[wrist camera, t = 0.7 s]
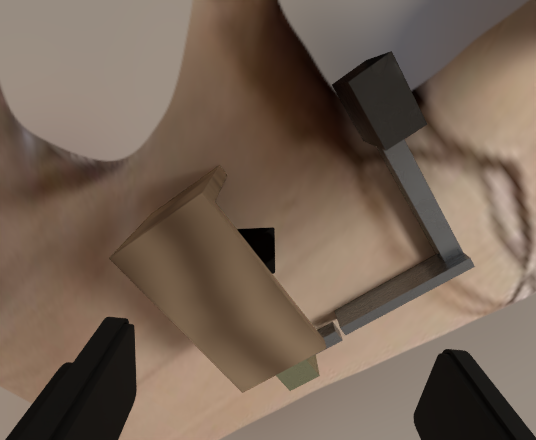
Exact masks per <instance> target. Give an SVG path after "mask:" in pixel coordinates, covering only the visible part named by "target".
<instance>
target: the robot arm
mask: <svg viewBox="0 0 536 440" xmlns="http://www.w3.org/2000/svg"><path fill="white" fill-rule="evenodd" d="M135 397H136V361H135V332H134V325H133V324H129V321H128V319H126V318H115V317H106V318H105V319H104V320H103V322H102V323H101V325H100V326H99V327H98V329H97V330H96V332H95V333H94V334H93V336H92V337H91V338H90V340H89V341H88V343H87V344H86V345H85V347H84V348H83V350H82V351H81V352H80V354H79V355H78V357H77V358H76V359H75V361H74V362H73V363H71V362H68V363H65V364H63V365H62V366H61V367H60V368H59V369H58V371H57V372H56V373H55V375H54V376H53V377H52V379H51V380H50V381H49V383H48V384H47V385H46V386H45V388H44V389H43V390H42V392H41V393H40V394H39V396H38V397H37V398H36V400H35V401H34V402H33V404H32V405H31V406H30V408H29V409H28V410H27V412H26V413H25V414H24V416H23V417H22V418H21V420H20V421H19V422H18V424H17V425H16V426H15V428H14V429H13V430H12V432H11V433H10V434H9V436H8V437H7V438H6V440H118V439H119V436H120V434H121V432H122V429H123V427H124V425H125V422H126V420H127V418H128V415H129V413H130V411H131V408H132V406H133V403H134V401H135ZM414 424H415V426H416V429H417V431H418V434H419V436H420V438H421V440H536V437H535V436H534V435H533V433H532V432H531V431H530V430H529V428H528V427H527V426H526V425H525V423H524V422H523V421H522V419H521V418H520V417H519V416H518V414H517V413H516V412H515V411H514V409H513V408H512V407H511V406H510V404H509V403H508V402H507V401H506V399H505V398H504V397H503V396H502V394H501V393H500V392H499V390H498V389H497V388H496V387H495V385H494V384H493V383H492V382H491V380H490V379H489V378H488V377H487V375H486V374H485V373H484V371H483V370H482V369H481V368H480V366H479V365H478V364H477V363H476V361H475V360H474V359H473V357H472V356H471V355H470V354H469V353H468V352H466V351H463V350H452V349H446V350H444V351H443V352H442V353H441V354H439V355H438V356H437V359H436V361H435V364H434V366H433V368H432V371H431V373H430V376H429V378H428V381H427V383H426V385H425V388H424V390H423V393H422V395H421V398H420V400H419V403H418V405H417V407H416V410H415V412H414Z"/></svg>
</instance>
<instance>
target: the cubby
mask: <svg viewBox="0 0 536 440" xmlns="http://www.w3.org/2000/svg"><path fill="white" fill-rule="evenodd" d="M226 176H227V174H226V173H225V172H224V170H223V169H222V168H221V167H220V165H219V166H218V167H217V168H215V169H214V170H212V171H211V172H210V173H208V174H207V175H205V176H204V177H203V178H201V179H200V180H198V181H197V182H196V183H194V184H193V185H191V186H190V187H189V188H187V189H186V190H184V191H183V192H182V193H180V194H179V195H177V196H176V197H175V198H173V199H172V200H170V201H169V202H168V203H166V204H165V205H163V206H162V207H161V208H159V209H158V210H157V211H155V212H154V213H152V214H151V215H150V216H149V217H148V218H147V219H146V220H145V221H144V222H143V223H142V224H141V225H140V226H139V227H138V228H137V230H136V231H135V232H134V233H133V234H132V235H131V236H130V237H129V238H128V239H127V240H126V241H125V242H124V243H123V244H122V245H121V246H120V247H119V248H118V249H117V251H116V252H115V253H114V254H113V255H112V256H111V257H110V258H109V259H110V260H111V261H112V262H113V263H114V264H115V265H116V266H117V267H118V268H119V269H120V270H121V271H122V272H123V273H124V274H125V275H126V276H127V277H128V278H129V279H130V280H131V281H132V282H133V283H134V284H135V285H136V286H137V287H138V288H139V289H140V290H141V291H142V292H143V293H144V294H145V295H146V296H147V297H148V298H149V299H150V300H151V301H152V302H153V303H154V304H155V305H156V306H157V307H158V308H159V309H160V310H161V311H162V312H163V313H164V314H165V315H166V316H167V317H168V318H169V319H170V320H171V321H172V322H173V323H174V324H175V325H176V326H177V327H178V328H179V329H180V330H181V331H182V332H183V333H184V334H185V335H186V336H187V337H188V338H189V339H190V340H191V341H192V342H193V343H194V345H195V346H196V347H197V348H198V349H199V350H200V351H201V352H202V353H203V354H204V355H205V356H206V357H207V358H208V359H209V360H210V361H211V362H212V363H213V364H214V365H215V366H216V367H217V368H218V369H219V370H220V371H221V372H222V373H223V374H224V375H225V376H226V377H227V378H228V379H229V380H230V381H231V382H232V383H233V384H234V385H235V386H236V387H237V388H238V389H239V390H240V391H241V392H242V393H243V392H245V391H247V390H249V389H251V388H253V387H255V386H257V385H258V384H260V383H262V382H264V381H266V380H268V379H270V378H272V377H273V376H275V375H277V374H279V373H281V372H283V371H285V370H287V369H289V368H290V367H292V366H294V365H296V364H298V363H300V362H302V361H304V360H306V359H307V358H309V357H311V356H313V355H315V354H317V353H319V352H321V351H322V350H324V349H326V344H325V340H324V339H323V337H322V336H321V335H320V334H319V332H318V331H317V330H316V329H315V327H314V326H313V325H312V324H311V322H310V321H309V320H308V319H307V317H306V316H305V315H304V314H303V312H302V311H301V310H300V308H299V307H298V306H297V305H296V303H295V302H294V301H293V300H292V298H291V297H290V296H289V295H288V293H287V292H286V291H285V290H284V288H283V287H282V286H281V285H280V283H279V282H278V281H277V279H276V278H275V277H274V276H273V274H272V273H271V272H270V271H269V269H268V268H267V267H266V266H265V264H264V263H263V262H262V261H261V259H260V258H259V257H258V256H257V254H256V253H255V252H254V251H253V249H252V248H251V247H250V245H249V244H248V243H247V242H246V240H245V239H244V238H243V237H242V235H241V234H240V233H239V232H238V230H237V229H236V228H235V227H234V225H233V224H232V223H231V222H230V220H229V219H228V218H227V216H226V215H225V214H224V213H223V211H222V210H221V209H220V208H219V206H218V205H217V204H216V203H215V200H216V198H217V196H218V194H219V191H220V189H221V187H222V185H223V183H224V181H225V179H226Z"/></svg>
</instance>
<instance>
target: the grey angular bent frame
mask: <svg viewBox="0 0 536 440" xmlns="http://www.w3.org/2000/svg"><path fill="white" fill-rule="evenodd" d="M332 86H333V88H334V90H335V91H336V93H337V95H338V97H339V98H340V100H341V102H342V104H343V105H344V107H345V109H346V111H347V112H348V114H349V116H350V118H351V119H352V121H353V123H354V125H355V126H356V128H357V130H358V132H359V133H360V135H361V137H362V139H363V140H364V141H365V142H368V143H370V144H372V145H374V146H376V147H377V149H378V150H379V152H380V154H381V156H382V157H383V159H384V161H385V163H386V165H387V166H388V168H389V170H390V172H391V174H392V175H393V177H394V179H395V181H396V183H397V184H398V186H399V188H400V190H401V192H402V193H403V195H404V197H405V199H406V200H407V202H408V204H409V206H410V208H411V209H412V211H413V213H414V215H415V217H416V218H417V220H418V222H419V224H420V226H421V227H422V229H423V231H424V233H425V235H426V236H427V238H428V240H429V242H430V243H431V245H432V247H433V249H434V251H435V252H436V255H434V256H433V257H431V258H429V259H427V260H425V261H424V262H422V263H420V264H418V265H416V266H415V267H413V268H411V269H409V270H407V271H406V272H404V273H402V274H400V275H398V276H396V277H395V278H393V279H391V280H389V281H387V282H386V283H384V284H382V285H380V286H378V287H377V288H375V289H373V290H371V291H369V292H368V293H366V294H364V295H362V296H360V297H359V298H357V299H355V300H353V301H351V302H350V303H348V304H346V305H344V306H342V307H341V308H339V309H337V310H335V314H336V317H337V320H338V323H339V326H340V328H341V330H342V331H343V332H344V334H345V335H347V334H349V333H351V332H353V331H355V330H356V329H358V328H360V327H362V326H364V325H366V324H368V323H370V322H371V321H373V320H375V319H377V318H379V317H381V316H383V315H385V314H386V313H388V312H390V311H392V310H394V309H396V308H398V307H400V306H402V305H403V304H405V303H407V302H409V301H411V300H413V299H415V298H417V297H418V296H420V295H422V294H424V293H426V292H428V291H430V290H432V289H433V288H435V287H437V286H439V285H441V284H443V283H445V282H447V281H449V280H450V279H452V278H454V277H456V276H458V275H460V274H462V273H464V272H465V271H467V270H469V269H471V268H473V267H475V266H474V264H473V262H472V260H471V258H470V257H468V256H467V255H466V254H465V253H463V251H462V249H461V247H460V245H459V243H458V241H457V240H456V238H455V236H454V234H453V232H452V230H451V228H450V226H449V224H448V222H447V220H446V219H445V217H444V215H443V213H442V211H441V209H440V207H439V205H438V203H437V201H436V199H435V197H434V196H433V194H432V192H431V190H430V188H429V186H428V184H427V182H426V180H425V178H424V176H423V174H422V173H421V171H420V169H419V167H418V165H417V163H416V161H415V159H414V157H413V155H412V153H411V151H410V150H409V148H408V146H407V144H406V142H405V140H404V139H405V138H407V137H408V136H410V135H411V134H413V133H415V132H416V131H418V130H419V129H421V128H422V127H424V126H425V125H427V123H426V121H425V119H424V117H423V114H422V112H421V110H420V108H419V106H418V104H417V102H416V100H415V98H414V96H413V94H412V92H411V90H410V88H409V86H408V84H407V82H406V80H405V78H404V75H403V73H402V71H401V69H400V67H399V65H398V63H397V61H396V59H395V57H394V55H393V53H392V52H388V53H385V54H382V55H380V56H377V57H374V58H371V59H368V60H366V61H364V62H363V63H362V64H360V65H359V66H357V67H356V68H355V69H353V70H352V71H350V72H349V73H348V74H346V75H345V76H343V77H342V78H341V79H339V80H338V81H336V82H335V83H334V84H332Z"/></svg>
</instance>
